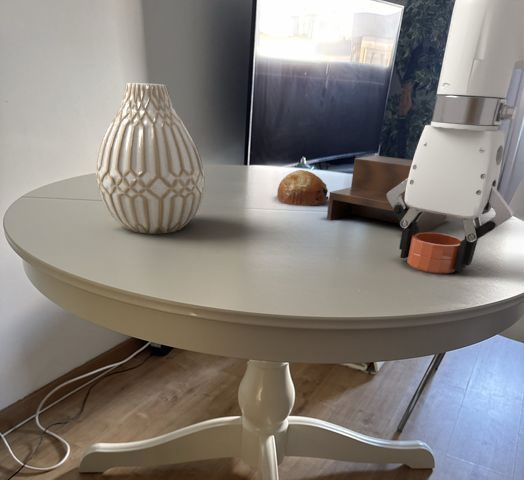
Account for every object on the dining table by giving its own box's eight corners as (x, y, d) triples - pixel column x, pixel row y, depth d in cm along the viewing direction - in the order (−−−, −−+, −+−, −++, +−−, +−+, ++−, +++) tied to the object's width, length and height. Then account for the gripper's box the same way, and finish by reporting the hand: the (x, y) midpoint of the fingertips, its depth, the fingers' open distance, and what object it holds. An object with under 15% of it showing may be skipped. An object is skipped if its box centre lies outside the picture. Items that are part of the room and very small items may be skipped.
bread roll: (290, 213, 106) (277, 177, 103) (334, 196, 102) (322, 159, 99) (280, 222, 97) (265, 184, 95) (327, 205, 93) (314, 164, 90)
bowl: (463, 268, 65) (471, 239, 63) (446, 280, 61) (454, 249, 59) (417, 257, 69) (423, 229, 67) (398, 267, 64) (404, 238, 62)
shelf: (445, 223, 89) (458, 166, 84) (410, 239, 77) (423, 174, 73) (367, 208, 97) (375, 155, 92) (326, 220, 86) (333, 161, 81)
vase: (80, 226, 74) (60, 78, 65) (157, 211, 86) (151, 83, 76) (149, 248, 66) (139, 83, 57) (225, 228, 77) (227, 88, 68)
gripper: (554, 120, 54) (507, 271, 62) (408, 110, 63) (385, 243, 71) (540, 121, 49) (491, 286, 57) (383, 109, 58) (361, 253, 66)
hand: (432, 261), depth 64 cm, fingers closed on bowl, 6 cm apart
